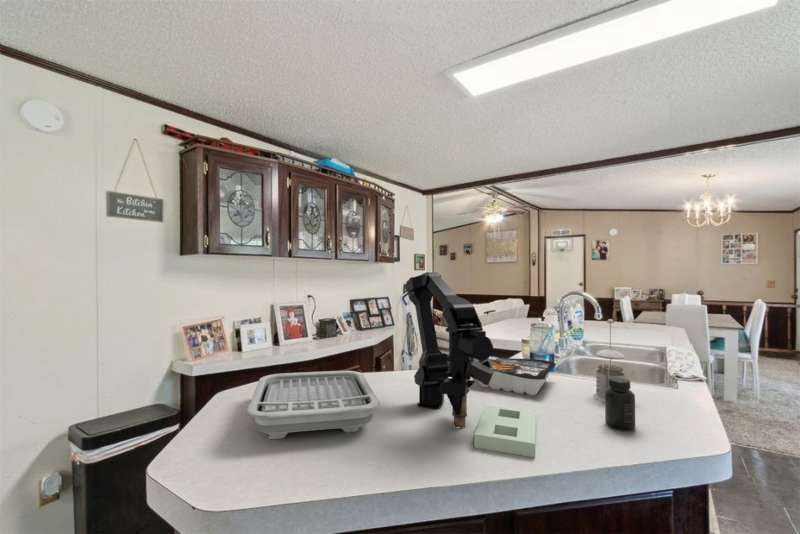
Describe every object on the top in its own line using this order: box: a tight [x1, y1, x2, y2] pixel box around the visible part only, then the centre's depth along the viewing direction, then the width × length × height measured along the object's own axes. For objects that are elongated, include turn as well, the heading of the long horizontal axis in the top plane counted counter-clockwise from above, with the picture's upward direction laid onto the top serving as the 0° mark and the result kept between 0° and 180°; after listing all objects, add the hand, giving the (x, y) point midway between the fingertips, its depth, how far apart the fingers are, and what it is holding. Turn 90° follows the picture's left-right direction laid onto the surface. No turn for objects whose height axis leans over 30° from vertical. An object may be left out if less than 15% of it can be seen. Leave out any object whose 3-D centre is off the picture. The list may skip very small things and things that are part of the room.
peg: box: [451, 393, 468, 429], centre depth 98 cm, size 4×4×10 cm
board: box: [473, 404, 537, 458], centre depth 93 cm, size 20×13×3 cm, turn 160°
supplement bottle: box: [604, 378, 636, 432], centre depth 99 cm, size 7×7×12 cm
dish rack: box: [246, 370, 380, 440], centre depth 105 cm, size 32×37×8 cm
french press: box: [592, 318, 626, 403], centre depth 119 cm, size 10×12×25 cm
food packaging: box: [477, 355, 557, 396], centre depth 134 cm, size 25×8×23 cm
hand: (459, 412), depth 98 cm, fingers closed on peg, 4 cm apart
